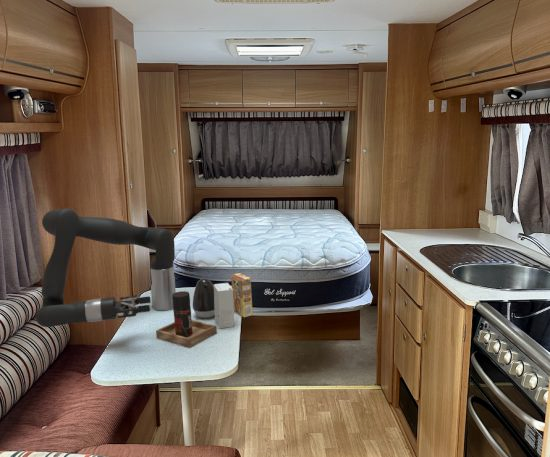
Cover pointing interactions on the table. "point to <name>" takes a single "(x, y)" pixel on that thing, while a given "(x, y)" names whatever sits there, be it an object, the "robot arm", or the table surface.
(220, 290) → the skincare box
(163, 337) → the tray
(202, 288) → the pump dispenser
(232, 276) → the candy box
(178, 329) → the deodorant
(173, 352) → the table surface
